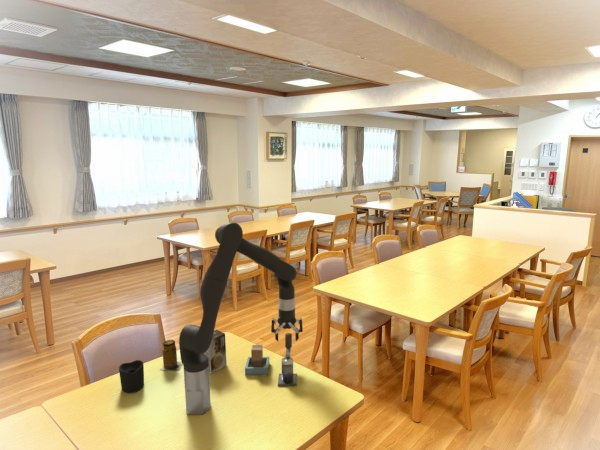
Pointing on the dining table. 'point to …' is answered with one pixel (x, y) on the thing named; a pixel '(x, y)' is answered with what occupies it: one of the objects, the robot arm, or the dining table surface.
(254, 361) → the block
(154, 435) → the dining table surface
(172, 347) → the condiment
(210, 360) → the coffee box
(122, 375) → the pen holder
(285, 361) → the crank lever
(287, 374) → the crank pedestal
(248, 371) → the tray
